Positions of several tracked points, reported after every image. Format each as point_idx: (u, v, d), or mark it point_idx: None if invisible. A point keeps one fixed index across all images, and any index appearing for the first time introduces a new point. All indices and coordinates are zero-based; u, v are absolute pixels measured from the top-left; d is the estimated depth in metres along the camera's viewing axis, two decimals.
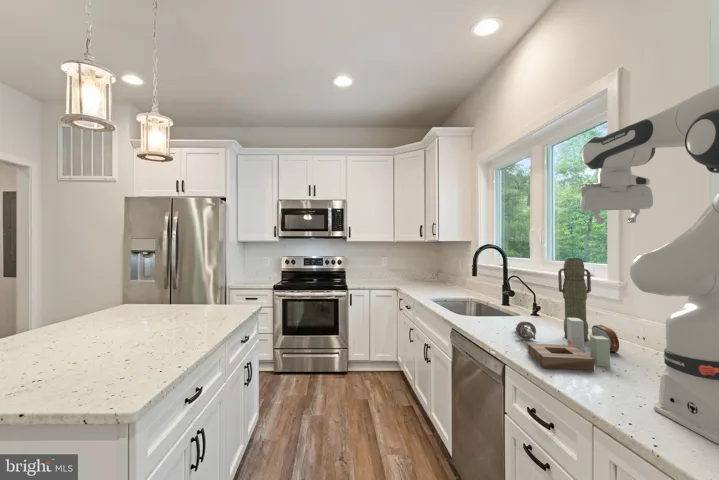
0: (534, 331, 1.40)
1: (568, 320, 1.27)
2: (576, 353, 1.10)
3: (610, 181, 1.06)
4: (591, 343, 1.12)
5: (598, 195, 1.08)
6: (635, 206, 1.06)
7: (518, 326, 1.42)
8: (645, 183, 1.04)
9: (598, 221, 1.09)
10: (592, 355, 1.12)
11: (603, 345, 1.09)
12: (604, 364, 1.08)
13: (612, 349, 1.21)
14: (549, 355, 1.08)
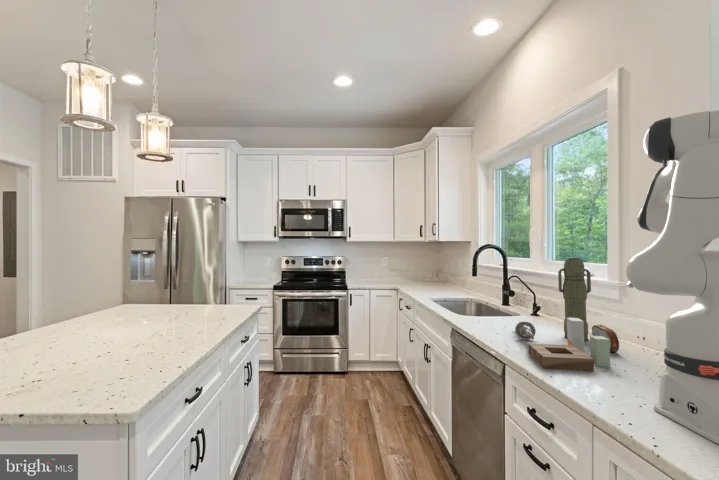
0: (533, 331, 1.40)
1: (568, 320, 1.27)
2: (576, 353, 1.10)
3: None
4: (591, 343, 1.12)
5: None
6: None
7: (517, 326, 1.42)
8: None
9: None
10: (592, 355, 1.12)
11: (603, 345, 1.09)
12: (604, 364, 1.08)
13: (612, 349, 1.21)
14: (549, 355, 1.08)
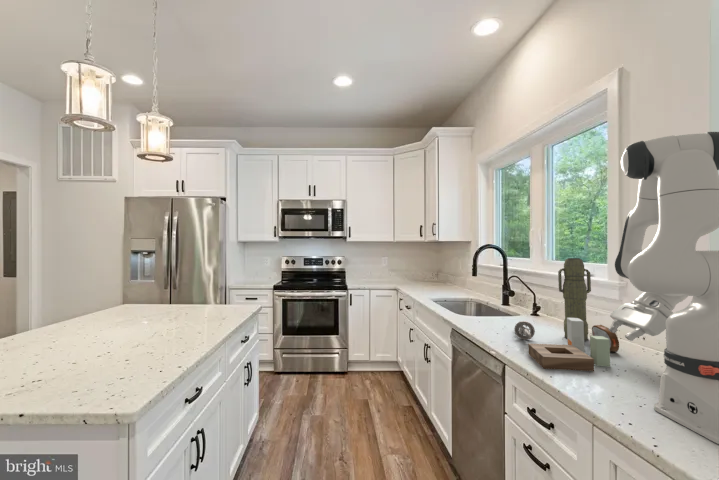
0: (533, 331, 1.40)
1: (568, 320, 1.27)
2: (576, 353, 1.10)
3: None
4: (591, 343, 1.12)
5: (626, 309, 1.15)
6: (636, 323, 1.05)
7: (516, 326, 1.42)
8: (655, 306, 1.02)
9: None
10: (592, 355, 1.12)
11: (603, 345, 1.09)
12: (604, 364, 1.08)
13: (612, 349, 1.21)
14: (549, 355, 1.08)
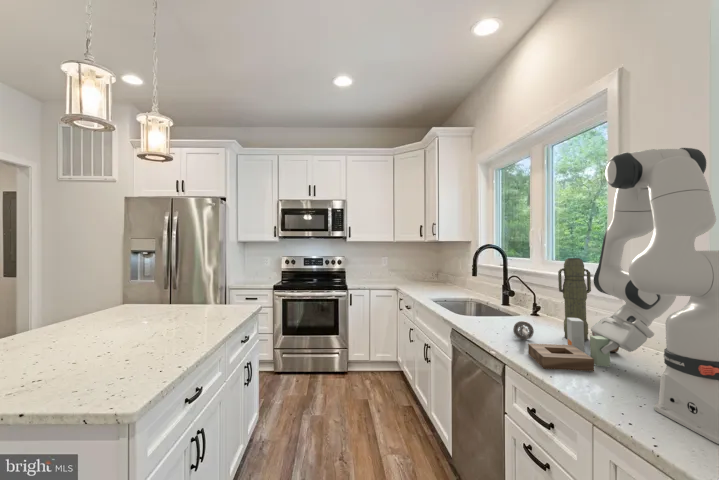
0: (531, 331, 1.40)
1: (568, 320, 1.27)
2: (576, 353, 1.10)
3: None
4: (591, 343, 1.12)
5: (605, 323, 1.16)
6: (613, 339, 1.06)
7: (515, 326, 1.42)
8: (631, 322, 1.03)
9: None
10: (592, 355, 1.12)
11: (603, 345, 1.09)
12: (604, 364, 1.08)
13: None
14: (549, 355, 1.08)
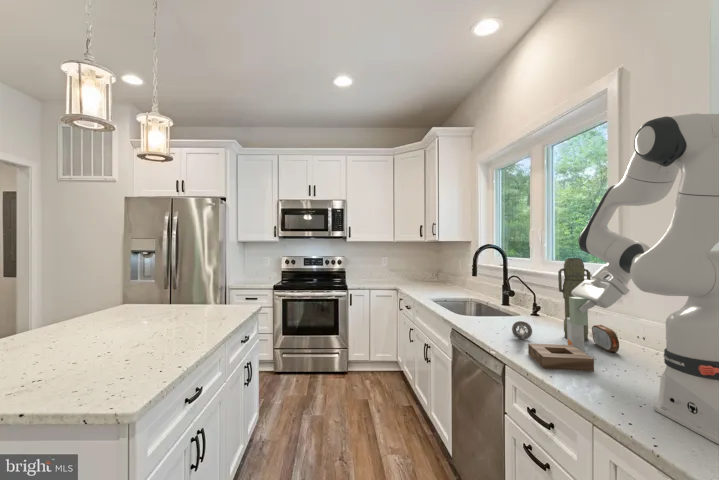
0: (530, 331, 1.40)
1: (568, 320, 1.27)
2: (576, 353, 1.10)
3: None
4: (570, 304, 1.14)
5: (585, 285, 1.17)
6: (590, 297, 1.07)
7: (514, 326, 1.43)
8: (607, 279, 1.04)
9: None
10: (571, 315, 1.13)
11: (581, 304, 1.10)
12: (582, 323, 1.10)
13: (612, 349, 1.21)
14: (549, 355, 1.08)
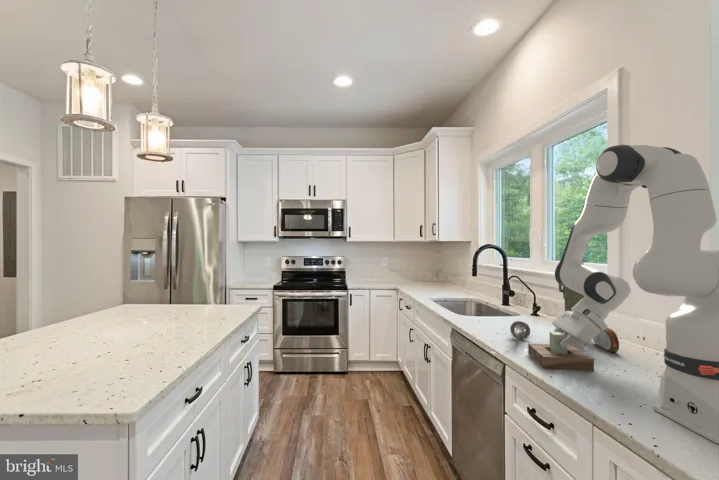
0: (528, 331, 1.40)
1: None
2: (576, 353, 1.10)
3: None
4: (550, 339, 1.14)
5: (565, 316, 1.18)
6: (570, 331, 1.08)
7: (512, 325, 1.43)
8: (586, 314, 1.05)
9: None
10: (551, 350, 1.14)
11: None
12: None
13: (612, 349, 1.21)
14: (549, 355, 1.08)
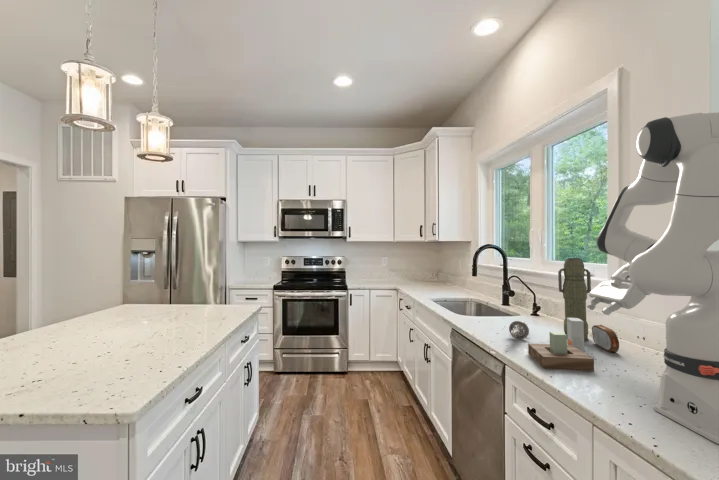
0: (527, 331, 1.40)
1: (568, 320, 1.27)
2: (576, 353, 1.10)
3: None
4: (550, 339, 1.14)
5: (603, 286, 1.15)
6: (612, 298, 1.05)
7: (511, 325, 1.44)
8: (630, 279, 1.02)
9: None
10: (551, 350, 1.14)
11: (561, 341, 1.11)
12: None
13: (612, 349, 1.21)
14: (549, 355, 1.08)
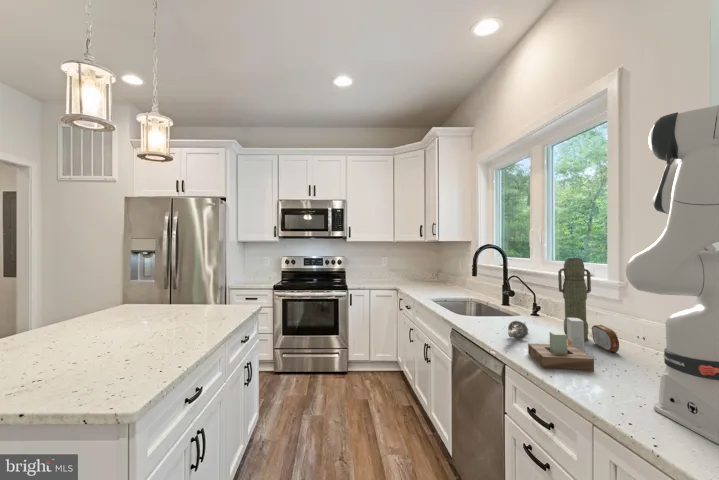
0: (526, 331, 1.40)
1: (568, 320, 1.27)
2: (576, 353, 1.10)
3: None
4: (550, 339, 1.14)
5: None
6: None
7: (510, 325, 1.44)
8: None
9: None
10: (551, 350, 1.14)
11: (561, 341, 1.11)
12: None
13: (612, 349, 1.21)
14: (549, 355, 1.08)
